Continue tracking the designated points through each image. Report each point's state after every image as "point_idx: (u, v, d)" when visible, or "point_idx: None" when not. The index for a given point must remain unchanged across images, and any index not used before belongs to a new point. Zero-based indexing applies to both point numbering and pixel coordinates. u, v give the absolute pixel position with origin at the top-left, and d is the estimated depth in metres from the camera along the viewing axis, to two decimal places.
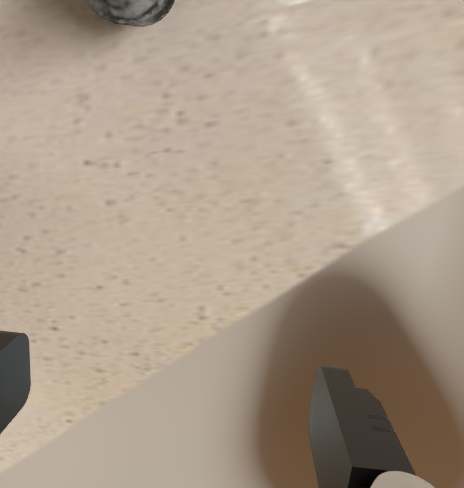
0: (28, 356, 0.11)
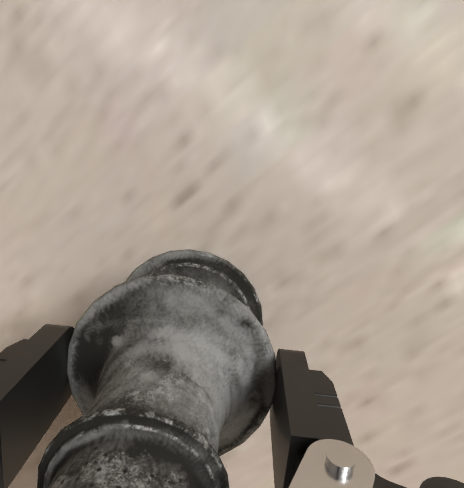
0: None
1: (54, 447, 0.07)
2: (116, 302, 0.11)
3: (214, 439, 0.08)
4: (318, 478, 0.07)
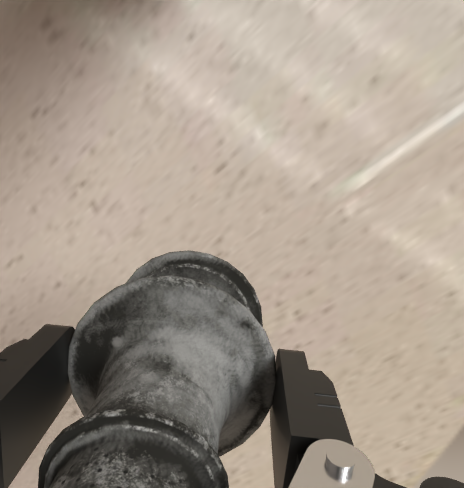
0: None
1: (55, 448, 0.07)
2: (116, 303, 0.11)
3: (214, 440, 0.08)
4: (318, 478, 0.07)
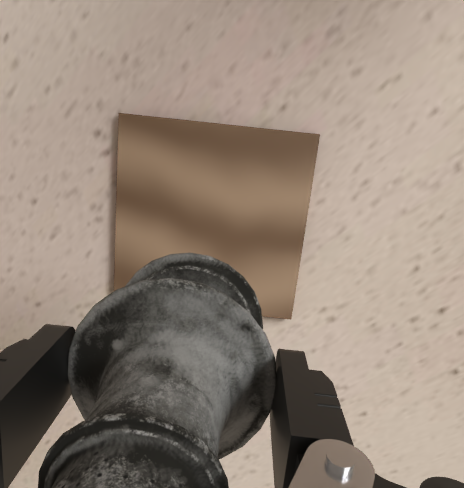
0: None
1: (55, 452, 0.07)
2: (116, 306, 0.11)
3: (214, 444, 0.08)
4: (318, 478, 0.07)
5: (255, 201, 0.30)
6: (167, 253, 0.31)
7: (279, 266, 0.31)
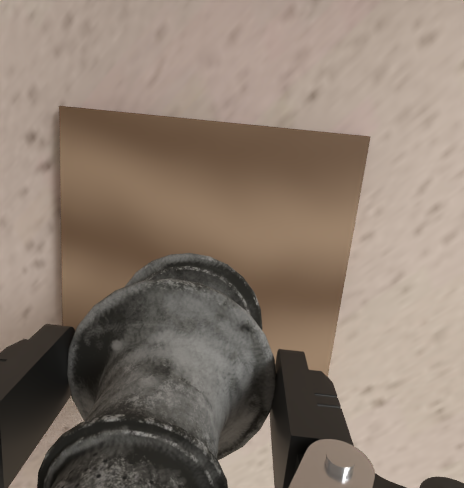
0: None
1: (54, 452, 0.07)
2: (116, 306, 0.11)
3: (213, 444, 0.08)
4: (318, 478, 0.07)
5: (270, 238, 0.20)
6: None
7: (305, 332, 0.21)
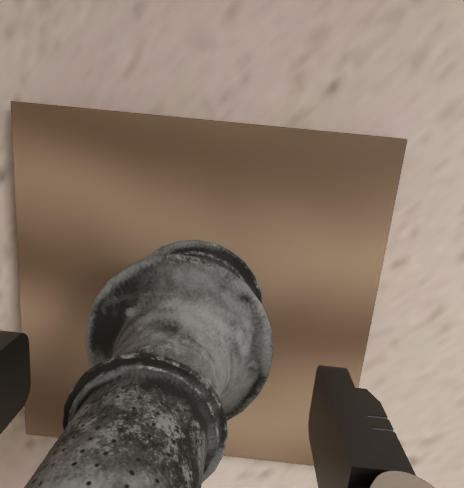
0: (28, 356, 0.11)
1: (78, 387, 0.09)
2: (130, 279, 0.12)
3: (215, 390, 0.10)
4: None
5: (279, 266, 0.16)
6: None
7: None
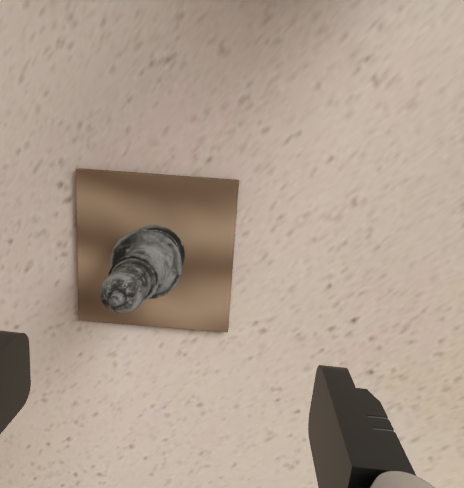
0: (28, 356, 0.11)
1: (113, 266, 0.29)
2: (127, 238, 0.33)
3: (155, 270, 0.30)
4: None
5: (190, 235, 0.36)
6: None
7: (214, 288, 0.37)
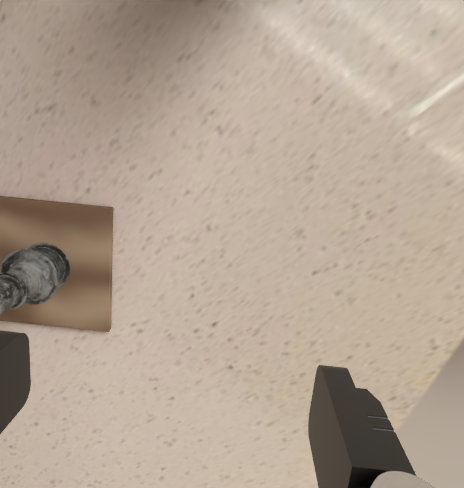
0: (28, 356, 0.11)
1: None
2: (12, 255, 0.40)
3: (27, 283, 0.38)
4: None
5: (74, 252, 0.44)
6: None
7: (95, 295, 0.45)
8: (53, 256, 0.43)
